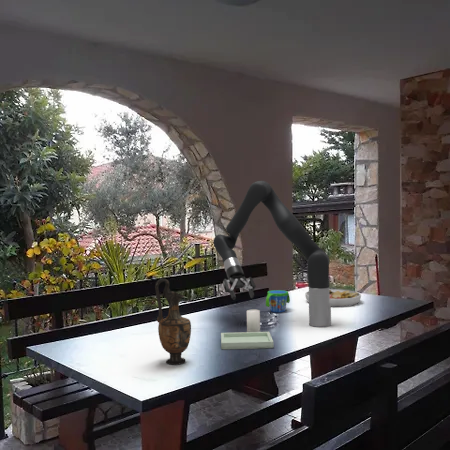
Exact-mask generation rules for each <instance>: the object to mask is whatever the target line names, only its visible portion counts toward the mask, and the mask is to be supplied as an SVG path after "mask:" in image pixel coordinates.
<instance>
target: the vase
mask: <svg viewBox="0 0 450 450" xmlns="http://www.w3.org/2000/svg"><path fill="white" fill-rule="evenodd" d="M161 283H165V286H164V289H163V290H162V291H163V292H162V295H163V297H164V298H165V299H166V302H167V304H168V314H167V316H166V317H165V318H164V317H163V307H162V299H161V294H160V290H159V289H160V288H159V286H160V284H161ZM170 284H171V283H170V281H169V280H168V279H166V278H160V279H158V280H157V281H155V285H154V288H155V295H156V302H157V308H158V316H157V318H156V322H157V323H158V325H157V326H158V328H157V329H158V330H157V331H158V337H159V342H160V344H161V347H162V349H164V351H166V352H167V353H168V354H169V358H168V359H166V362H165V363H166V364H167V365H171V366H178V365H179V366H180V365H183V364H185V363H186V362H187V360H186V359H185V358H184V357H182V355H183V354H182V353H184V351H186V350H187V349H188V347H189V345H190V341H191V334H192V323H191V320H190V319H189V318H187V317H183V316H182V315H181V313H180V308H179V307H180V306H179V305H180V301H181V299H185V295H183V294H181V293H178V292H176V291H174V290H173V291H172V290H171V289H170Z"/></svg>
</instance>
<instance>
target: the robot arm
mask: <svg viewBox="0 0 450 450" xmlns="http://www.w3.org/2000/svg"><path fill="white" fill-rule="evenodd" d="M260 203H262V204H263V205H264V206H265V208H266V209H268V211H269V212H270V215H271V217H272V219H273V221H274V223H275V225H276V227H277V229H279V231H280V232H281V233H282V234H283V235H284V237H285V238H286V239H288V240H289V242H290V243H291V244H293V245H294V246H295V247H297V249H298V250H300V251H301V253H302V254H303V255H304V257H305V258H306V259H307V280H308V291H309V302H308V324H309V326H311V327H315V328H316V327H318V328H323V327H324V328H325V327H331V326H332V307H331V305H330V298H329V289H330V276H329V275H330V271H329V270H330V269H329V266H330V262H331V260H330V257H329V255H328V254H327V253H326V252H325V251H324V250H323V249H322V248H321V247H320V246H319V245H318V244H317V243H316V242H315V241H314V240H313V239H312V238H311V236H310V235H309V232H308V231H307V230H306V229H305V227H304V226H303V225H302V224H301V222H300V221H299V220H298V218H297V217H296V216H295V215H294V214H293V213H292V212H291V210H290V209H289V208H288V207H287V205H285V204H284V203H283V202H282V200H281V199H280V198H279V196H278V195H277V193H276V191H275V190H274V189H273V187H272V185H271V184H270V183H268V182H267V181H266V180H258V181H254V182H252V184H251V185H250V186H249V188H248V189H247V192H246V194H245V196H244V199H243V201H242V202H241V204H240V206H239V207H238V209H237V210H236V212H235V214H234V215H233V217H232V218H231V220H230V221H229V222H228V223H227V225H226V227H225V231H226V233H227V234H228V235H225V234H222V233H221V234H216V235H215V237H214V238H213V246H214V248H215V250H216V252H217V253H218V255H219V256H220V258H221V260H222V263H223V266H224V267H223V268H224V271H225V274H226V277H227V278H224V279H223V281H222V285H223V289H224V292H225V293H229V294H230V298H231V299H232V300H233V301H235V300H236V299H237V297H236V293H235V289H236V290H237V289H244V290H247V291H248V294H249V297H250V299H254V297H255V292H254V291H255V289H256V287H257V286H256V284H255V282H254V279H253V278H252V276H249V277H248V278H246V277H245V273H244V270H243V268H242V265H241V263H240V261H239V258H238V256H237V254H236V251H235V250H234V248H235V246H236V243H237V240H238V238H239V235H240V234H241V232H242V230H244V228H245V226H246V225H247V223H248V221H249V219H250V216H251V214H252V212H253V211H254V209H255V208H256V207H257V206H258V205H259V204H260ZM229 285H230V286H231V287H229Z"/></svg>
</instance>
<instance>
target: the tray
mask: <svg viewBox="0 0 450 450" xmlns="http://www.w3.org/2000/svg"><path fill="white" fill-rule="evenodd" d="M220 345H221V346H220V347H221V350H250V349H251V350H254V349H257V350H259V349H260V350H261V349H274V346H275V344H274V340H273V338H272V334H271V333H270V331H260V332H247V331H245V332H242V331H240V332H220Z"/></svg>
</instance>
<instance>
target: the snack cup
mask: <svg viewBox="0 0 450 450" xmlns="http://www.w3.org/2000/svg"><path fill="white" fill-rule="evenodd" d="M290 303H291V298H290V294H289V291H287V290H282V289H278V290H277V289H273V290H268V291H267V294H266V298H265V307H267V308H270V311H271V312H272V313H283V312H285V311H286V310H287V309H286V308H287V304H290Z"/></svg>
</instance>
